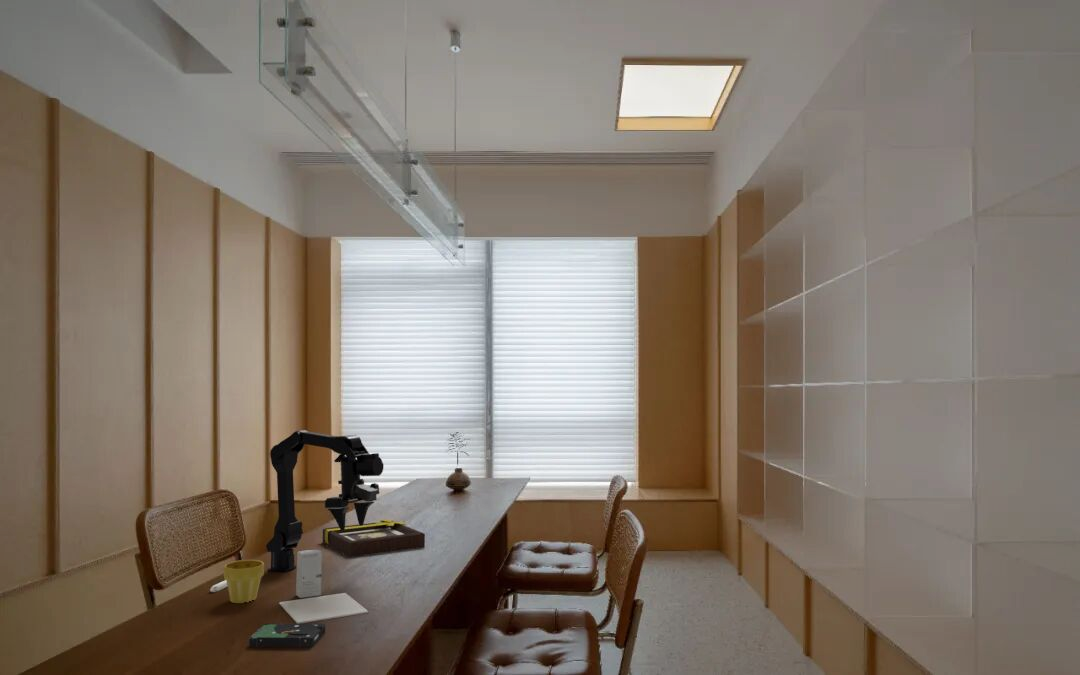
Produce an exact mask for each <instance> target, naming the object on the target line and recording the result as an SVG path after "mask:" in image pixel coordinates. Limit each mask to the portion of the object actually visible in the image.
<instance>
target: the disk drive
mask: <svg viewBox="0 0 1080 675" xmlns="http://www.w3.org/2000/svg"><path fill="white" fill-rule="evenodd" d="M325 634H326V623H300V624H297V623H276V622H275V623H263V624H262V625H261V626H260V627H259V628H258V629H256V632H254V633H253V634H252V635H250V636H249V639H248V647H249V648H313V647H314V646H315V645H316V644H317V643H318V642H319V641H320V640H321V639H322V638H323V636H324V635H325Z"/></svg>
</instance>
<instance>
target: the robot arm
mask: <svg viewBox="0 0 1080 675" xmlns="http://www.w3.org/2000/svg"><path fill="white" fill-rule="evenodd" d="M305 445H308V446H313V447H321V448H326V449H330V450H331V451H332V452H334V453H337V454H338V456H337V457H336V458H335V459H334V461H333V462H334V463H340V479H339V480H338V481H337V484H338V485H340V486H341V489H340V490H341V491H340V492H341V493H340V494H338V496H332V497H327V498H326V499H325V500H324V508H325V509H327V511H330V513H331V515H332V516H333V518H334V520H335V522H336V523H337V527H340V529H341V531H344V530H345V526H346V517H347V516H346V515H347V514H346V513H347V512H348V510H349V509H350V507H349V506H348V505H349V504H350V503H353V505H354V510H355V514H356V517H357V522H358V525H360V526H363V524H365V519H366V516H367V512H368V509H369V507H370V506H371V505H373V504H375V501H377V500H378V499H377V495H379V494H380V486H379V484H378V483H376V482H374V483H373V482H372V483H371V484H365V481H364V480H365V479H363V478H361V477H375V476H376V477H379V476H381V475H382V474H383V472H384V462H383V460H382V458H381V457H380V455H379V453H378V452H377V453H376V452H375V453H369V451H368V450H367V448H366V447H365V445H364V444H363V442H362V439H361V437H360V436H359V435H356V434H353V435H352V434H350V435H331V434H325V433H320V432H315V431H308V430H306V429H304V430H295V431H294V432H293V433H291V434H290V435H289V436H288V437H286V438H284V439H283V440H282V441H280V442H279V443H278V444H275V445H273V446H272V448H271V449H270V453H269V456H270V463H271V465H272V467H273V469H274V470H275V472H276V483H277V484H276V486H277V487H276V488H277V507H278V511H277V512H278V518H277V520H276V524H275V525H274V528H273V537H272V538H270V540H269V541H268V542H267V544H266V546H265V547H266V550H267V552H269V553H270V567H268V568H267V571H271V572H282V573H283V572H288V571H290V570H293V569H295V568H296V569H297V565H295V554H294V548H297V547H298V545H299V542H300V540H301V539H302V535H303V534H304V531H303V521H302V520H298V519H297V517H296V513H295V510H296V509H295V489H294V488H295V486H294V485H295V484H294V469H295V468H296V466H297V463H298V456H299V453H300V452H301V451H303V449H304V447H305Z"/></svg>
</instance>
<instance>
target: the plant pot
mask: <svg viewBox="0 0 1080 675" xmlns="http://www.w3.org/2000/svg"><path fill="white" fill-rule="evenodd" d="M264 574H265V563H264V561H262V560H260V559H241V560H235V561H230V562H227V563H226V564H224V566H223V578H224V580H226V581H227V586H228V587H227V591H228V596H229V600H230V602H231V603H233V604H245V603H244V602H247V603H250V602H249V601H251V602H253V601H252V600H254V601H255V600H256V599H257V596H258V591H259V587H260V583H261V580H262V577H263V576H264Z"/></svg>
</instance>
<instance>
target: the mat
mask: <svg viewBox="0 0 1080 675" xmlns="http://www.w3.org/2000/svg"><path fill="white" fill-rule="evenodd" d="M279 605H280V607H281V608H283V610H284V611H285V612H286V613H287V614H288V615H289V616H290V617H291V619H292V620H293V621H294V622H295V624H307V623H311V622H319V621H324V620H331V619H336V618H342V617H343V618H344V617H349V616H356V615H362V614H368V613H369V611H368V610H367V609H366V608H365V607H363V606H362V604H360V603H359V602H357V601H356V600H355V599H354V598H353V597H351V596H350V595H349V594H347V592H342V593H334V594H333V593H332V594H328V595H319V596H312V597H305V598H300V599H293V600H286V601H280V602H279Z"/></svg>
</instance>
